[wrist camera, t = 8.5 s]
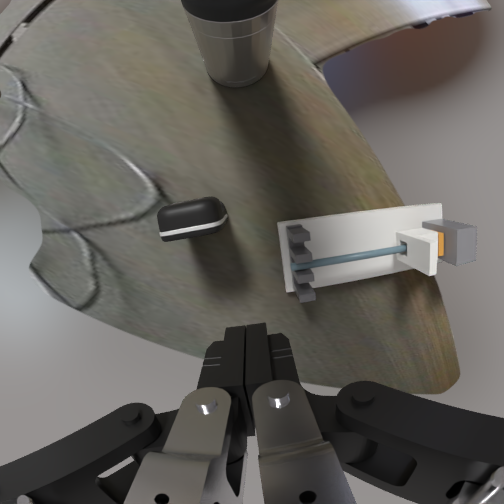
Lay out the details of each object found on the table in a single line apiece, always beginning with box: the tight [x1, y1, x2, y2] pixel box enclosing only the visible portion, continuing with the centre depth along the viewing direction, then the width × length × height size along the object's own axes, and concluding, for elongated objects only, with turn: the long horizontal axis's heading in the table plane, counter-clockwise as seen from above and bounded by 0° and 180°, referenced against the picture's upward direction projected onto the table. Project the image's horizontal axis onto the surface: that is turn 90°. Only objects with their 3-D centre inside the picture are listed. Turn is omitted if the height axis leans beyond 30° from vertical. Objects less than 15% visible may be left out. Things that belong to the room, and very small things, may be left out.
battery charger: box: [157, 197, 228, 242], centre depth 32 cm, size 7×4×11 cm, turn 99°
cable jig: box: [277, 203, 477, 303], centre depth 34 cm, size 10×28×10 cm, turn 99°
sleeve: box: [396, 228, 438, 276], centre depth 31 cm, size 4×5×8 cm
